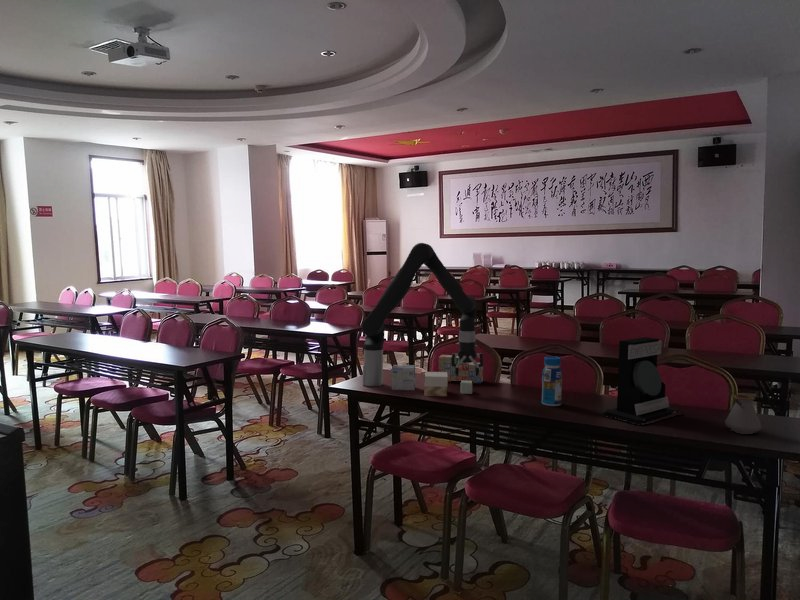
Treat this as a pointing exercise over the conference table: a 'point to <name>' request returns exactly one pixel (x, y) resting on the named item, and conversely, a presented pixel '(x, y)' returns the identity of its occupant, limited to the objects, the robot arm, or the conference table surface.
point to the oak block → (435, 391)
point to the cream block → (436, 379)
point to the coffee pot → (743, 415)
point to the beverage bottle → (552, 381)
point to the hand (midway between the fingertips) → (467, 375)
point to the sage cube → (466, 387)
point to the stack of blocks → (460, 370)
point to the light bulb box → (403, 377)
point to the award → (640, 383)
